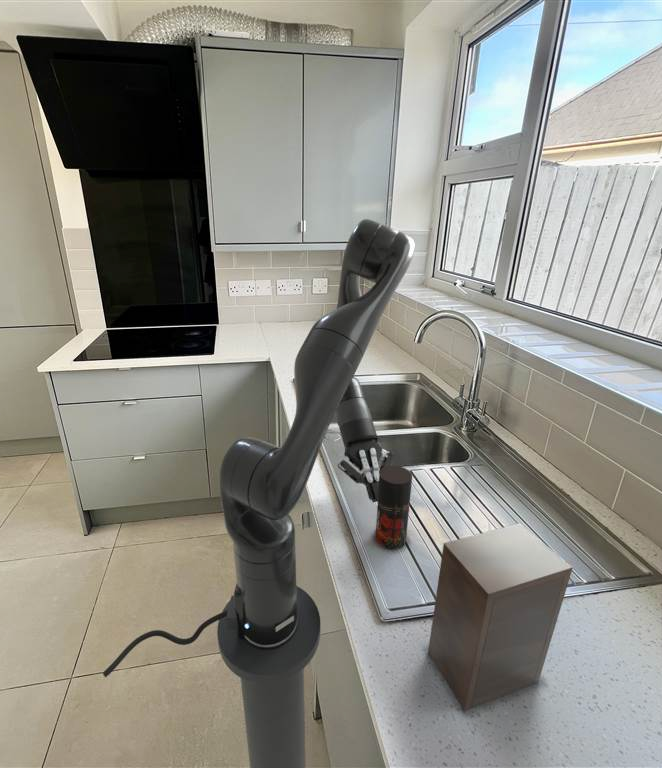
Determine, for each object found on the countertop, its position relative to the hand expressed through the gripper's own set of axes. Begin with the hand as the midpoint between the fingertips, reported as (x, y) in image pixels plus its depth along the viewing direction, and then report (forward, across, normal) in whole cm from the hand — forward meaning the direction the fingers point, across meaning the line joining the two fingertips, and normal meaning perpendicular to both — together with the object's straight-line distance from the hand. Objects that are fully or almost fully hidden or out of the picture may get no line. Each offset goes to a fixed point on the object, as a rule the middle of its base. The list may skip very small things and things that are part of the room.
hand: (377, 501), depth 84 cm
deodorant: (+8, 0, -1) cm, 8 cm away
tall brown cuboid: (+26, 0, -19) cm, 32 cm away
